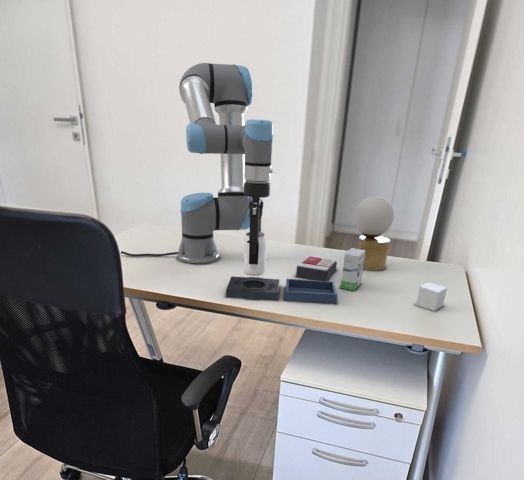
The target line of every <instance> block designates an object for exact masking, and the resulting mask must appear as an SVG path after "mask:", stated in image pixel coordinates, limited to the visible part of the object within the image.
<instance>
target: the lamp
mask: <svg viewBox="0 0 524 480" xmlns="http://www.w3.org/2000/svg"><path fill="white" fill-rule="evenodd" d="M394 218H395V212H394V208H393V206H392V204H391V203H390V201H388V200H387V199H386V198H384V197H382V196H376V195H375V196H369V197H366V198H365V199H363V200H362V201H361V202H360V203H359V204H358V205H357V207H356V209H355V211H354V216H353V221H354V224H355V227H356V229H357V230H358V232H360V233H361V234H362V235H360V236H359V237H358V244H357V249H360V250H365V257H364V263H363V270H365V271H373V272H374V271H375V272H376V271H382V270H384V269H385V268H386V265H387V259H388V253H389V248H390V243H391V240H390V239H389V238H388V237H385V236H382V235H383V234H385V233H386V232H387V231H388V230H389V229H390V228H391V226H392V224H393V222H394Z"/></svg>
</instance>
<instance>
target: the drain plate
mask: <svg viewBox="0 0 524 480" xmlns="http://www.w3.org/2000/svg"><path fill="white" fill-rule="evenodd" d="M280 283H281V282H280V278H266V277H265V278H264V277H257V276H247V277H245V276H233V275H232V276H230V278H229V281H228V283H227V286H226V288H225V297H226V298H235V299H244V300H253V301H254V300H255V301H258V300H264V301H265V300H266V301H267V300H268V301H278V300H279V294H280V293H279V292H280Z"/></svg>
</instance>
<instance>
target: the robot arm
mask: <svg viewBox="0 0 524 480" xmlns="http://www.w3.org/2000/svg"><path fill="white" fill-rule="evenodd" d="M178 88H179V89H178V90H179V96H180V97H181V100H182V102H183V103H184V104H185V107H186V108H185V109H186V112H187V115H188V120H189V124H187V125H186V127H185V128H186V129H185V136H186V149H187V151H188V152H189V153H191V154H199V155H203V154H207V155H208V154H212V155H213V154H215V155H217V154H220V169H221V170H220V174H221V175H220V176H221V177H220V179H221V188H220V189H219V190H218V191H217V197H214V195H213V193H211V192H196V193H190V194H187V195H185V196H183V197H182V198H181V200H180V210H179V212H180V215H181V216H180V218H181V240H180V244H179V248H178V251H174V252H167V253H130V252H126V251H122V250H120V251H121V253H120V254H122V255H126V256H128V257H166V256H167V257H168V256H173V255H177V257H178V260H179V261H180V262H183V263H187V264H195V265H196V264H197V265H199V264H200V265H201V264H203V265H204V264H209V263H214V262H216V261H217V260H218V259H219V250H218V248H217V245H216V242H215V239H214V238H215V237H214V231H242V230H243V231H244V230H248V229H249V232H250V233H249V241H247V243H249V264H255V265H258V250H259V243H258V242H259V241H258V236H259V232H260V233H263V234H264V232H262V216H263V209H264V201H263V199H264V198H269V197H270V196H271V182H270V181H271V178H272V177H271V176H272V175H271V174H273V173H274V169H272V157H273V154H272V153H273V142H274V141H273V140H274V124H273V122H272V121H271V120H268V119H257V118H256V119H253V118H252V119H246V121H245V120H244V115H245V113H247V111H248V109H249V108H248V107H249V106H250V105H252V102H253V90H254V89H253V82H252V77H251V73H250V70H249V68H247V67H246V66H244V65H239V64H238V65H237V64H235V63H234V64H226V63H209V62H201V63H196V64H194V65H192V66H191V67H189V68H188V69H187V70H186V71H185V72H184V73H183V75H182V76H181V78H180V80H179V86H178ZM211 104H213V105H214V107H213V108H214V111H215V112H216V113H217V115H218V117H219V118H218V123H219V124H218V123H217V121H216V118H215V115H214V111H213V108H212V105H211ZM244 121H245V122H244ZM262 198H263V199H262ZM252 238H253V239H252Z"/></svg>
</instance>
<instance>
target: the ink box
mask: <svg viewBox="0 0 524 480" xmlns="http://www.w3.org/2000/svg"><path fill="white" fill-rule="evenodd" d="M364 257H365V250H360V249H358V248H355V247H351V248H349V250H348V251H346V252H345V253H344V258H343V265H342V273H341V279H340V280H341V281H340V287H339V288H340V289H345V290H350V291H355V290H356V289H357V288H358V287H359V286H360V285H361V282H362V275H363V270H364V269H363V263H364Z"/></svg>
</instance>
